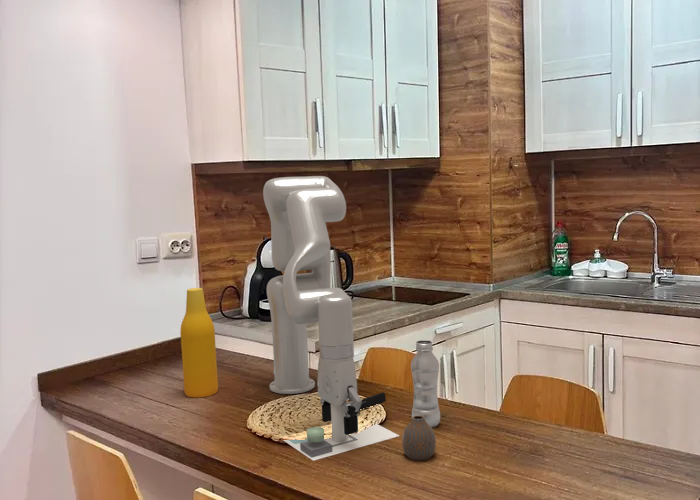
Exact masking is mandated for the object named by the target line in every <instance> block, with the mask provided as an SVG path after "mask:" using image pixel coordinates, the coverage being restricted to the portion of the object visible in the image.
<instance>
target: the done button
mask: <svg viewBox="0 0 700 500" xmlns="http://www.w3.org/2000/svg"><path fill="white" fill-rule="evenodd" d="M306 430H307V440H308V441H309V442H321V441H323V440H324V429H323V428H321V427H319V426H313V427H309V428H308V429H306Z"/></svg>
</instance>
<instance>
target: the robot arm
mask: <svg viewBox="0 0 700 500" xmlns="http://www.w3.org/2000/svg"><path fill="white" fill-rule="evenodd" d="M262 192H263V193H262V195H263V201H264V205H265V208H266V210H267V213H268V215H269V221H270V223H271V224H270V225H271V226H270V227H271V230H270V235H271V237H270V238H271V240H270V242H271V260H272V261H271V262H272V265H273V267H274V269H275V270H276V271H280V272H283V275H278V276H275V277H272V278H271V279H270V280H269V281H268V282H267V285H266V296H267V301H268V306H269V309H270V310H269V311H270V318H271V319H270V320H271V334H272V350H273V353H272V354H273V372H272V373H273V374H274V380H272V382H270V384H269V390H270V391H271V392H273V393H275V394H279V395H295V394H296V395H297V394H302V393H306V392H309V391H311V390H312V389H314V388H315V387H316V384H317V395H318V397H319V398H320V401H319V402H320V405H321V418H322V419H321V420H322V422H323V423H328V422H331V404H333V405H335V406H337V407H341V406H342V408H343V410H344V413H345V416H344V434H346V435H349V434H353V433H356V432H358V416H360V415H359V414H360V412H361V411H360V406H361V403H362V398H361V397H360V395H359V394H358V382H357V381H358V380H357V373H356V371H357V370H356V366H355V360H354V357H355V349H354V347H355V346H354V325H353V324H354V321H353V319H354V318H353V301H352V298H351V297H350V296H349V295H348V294H347V293H346V292H345V290H344V289H342V288H340V287H332V286H331V282H332V281H331V278H332V276H331V272H332V271H331V270H332V266H331V265H332V264H331V263H332V260H331V259H332V258H331V257H332V256H331V253H332V252H331V242H330V237H329V232H328V228H327V223H333V222H341V221H342V220H344V218H345V216H346V213H347V202H346V199H345V196H344V194H343V192H342V190H341V189H340V187H339V186H338V185H337V184H336V183H334V181H332V180H331V178H329V177H327V176H323V175H311V176H310V175H309V176H306V175H305V176H284V177H283V176H282V177H274V178H272V179H269V180H267V181H266V182H265V184H264V186H263V191H262ZM310 270H311V271H312V272H306V273H298V272H300V271H310ZM315 323H317V325H318V348H319V357H318V361H317V362H318V364H317V381H316V382H315V380H314V379H312V378H310V370H309V369H310V368H309V366H310V365H309V346H308V331H307V330H308V328H307V327H308V326H307V324H308V325H309V324H315ZM346 400H347V402H346ZM349 405H351V406H352V407H351V408H350V409H349V410H348V407H347V406H349Z"/></svg>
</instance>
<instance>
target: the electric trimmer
mask: <svg viewBox="0 0 700 500" xmlns="http://www.w3.org/2000/svg"><path fill="white" fill-rule="evenodd" d="M361 400H362V403H361V406H360V409H363V408H366V407H370V406H373V405H376V404H378V405H381V404H382V403H384V402H385V401H386V393H385V392H380V393H377V394H375V395H371V396H367V397H366V398H361ZM376 406H377V405H376ZM347 407H348V410H349V409H350V408H351V407H352V406H351V405H349V406H347ZM366 409H367V408H366Z"/></svg>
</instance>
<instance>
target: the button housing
mask: <svg viewBox="0 0 700 500" xmlns="http://www.w3.org/2000/svg"><path fill="white" fill-rule="evenodd" d="M300 450H301V451H303V452H304V453H306V454H307V455H309V456H310V457H316V456H319V455H323V454H326V453H330V452H332V445H331V444H330V443H328V442H327V441H325V440H323V441H321V442H309V441H307V442H303V443H300Z"/></svg>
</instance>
